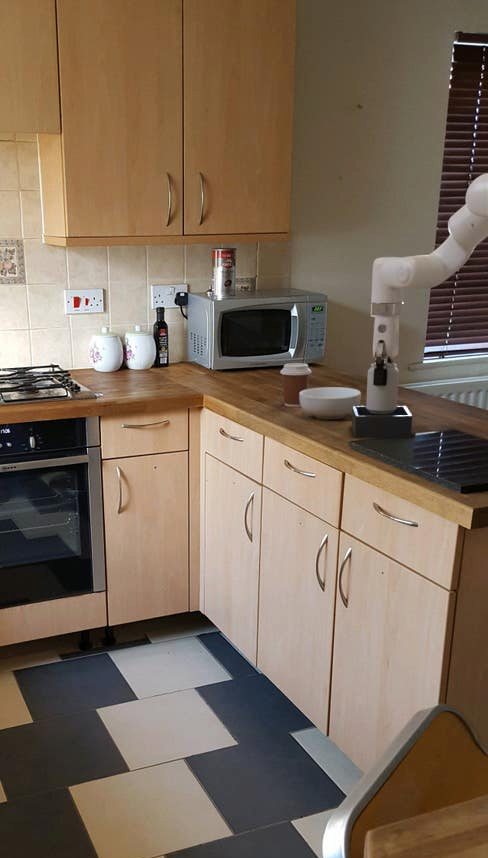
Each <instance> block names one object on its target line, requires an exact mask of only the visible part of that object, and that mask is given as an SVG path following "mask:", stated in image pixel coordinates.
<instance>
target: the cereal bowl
mask: <svg viewBox="0 0 488 858" xmlns="http://www.w3.org/2000/svg"><path fill="white" fill-rule="evenodd" d="M299 399H300V405H301V406H300V407H301V409H302V410H303V411H304V412H305V413H307V414H308V415H312V416H314V417H315V418H316V419H319V420H339V419H343V418H345V416H348V415H351V414H352V406H360V404H361V399H362V392H361V391H360V390H358V389H356V388H352V387H351V388H350V387H341V386H340V387H339V386H329V387H326V386H325V387H313V388H308V389H306V390H303V391H301V392H300V393H299Z"/></svg>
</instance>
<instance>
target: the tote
mask: <svg viewBox="0 0 488 858" xmlns="http://www.w3.org/2000/svg"><path fill="white" fill-rule="evenodd" d="M350 427H351V431H352V433H353V437H354V438H355V439H411V438H412V428H413V415H412V413H411V412H410V410H409V409H408V407H407V406H406V405H397V408H396V409H395V410H394V411H393V412H392V413H386V414H377V413H371V412H369V410H368V409H367V408H366V405H361V406H360V405H359V406H352V413H351V426H350Z"/></svg>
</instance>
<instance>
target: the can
mask: <svg viewBox="0 0 488 858" xmlns="http://www.w3.org/2000/svg"><path fill="white" fill-rule="evenodd" d="M374 366H375V362H374V363H370V368H369V369H368V370H367V379H366V381H367V382H366V383H367V384H366V386H367V387H366V404H365V406H366V408H367V409H368V410H369V412H371V413H377V414H386V413H392V412H393V411H394V410H395V409H396V408H397V406H398V393H399V392H398V390H399V377H400V374H399V373H400V370H399V369H398V367H397V363H394V362H393V363H387V367H386V369H388V371H387V385H386V386H374V385H373V379H374Z"/></svg>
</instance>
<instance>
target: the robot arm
mask: <svg viewBox="0 0 488 858" xmlns="http://www.w3.org/2000/svg"><path fill="white" fill-rule="evenodd" d="M447 228H448V232H449V235H448V237H447V238H446V239H445V240H444V242H442V244H441V245H439V246H438V247H437V248H436V249H435V250H433V251H432V252H431V253H429V254H422V255H410V256H403V257H399V256H383V257H382V256H381V257H377V258H375V259H374V261H373V263H372V277H371V297H370V298H371V301H370V302H371V303H370V318H374V324H373V337H372V338H373V339H372V357H373V358H374V363H375V366H374V379H373V385H374V386H386V385H387V371H388V369H386V367H387V363H394V358H395V357H396V356H398V355H399V338H400V337H399V336H400V335H399V334H400V321H399V320H400V319H399V318H400V317H403V311H404V310H403V309H404V294H405V293H404V292H405V291H413V290H421V289H430V288H435V287H437V286H439V285H441V284H442V283H444V282H445V281H446V280H448V279H449V278H450V277H451V276H453V275H454V274H455V273H456V272H457V271H459V270H460V269H462V267H463V266H464V265H465V264H466V263H467V261H468V260H469V259H470V257H471V255H472V254H473V252H474V249H475V248H476V247H477V246H478V245H479V244H480V243H481V242H482V241H484V240H485V239H486V238H487V237H488V172H486V173H483V174H481V175H479V176H477V177H476V178H475V179H474V180H473V181H472V182H471V183H470V185H469V186H468V188H467V190H466V193H465V204H464V205H463V206H462V207H460V208H459V209H458V210H457V211H456V212H455V213H454V214H452V215H451V216H450V218H449V219H448V221H447ZM404 290H405V291H404Z"/></svg>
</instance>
